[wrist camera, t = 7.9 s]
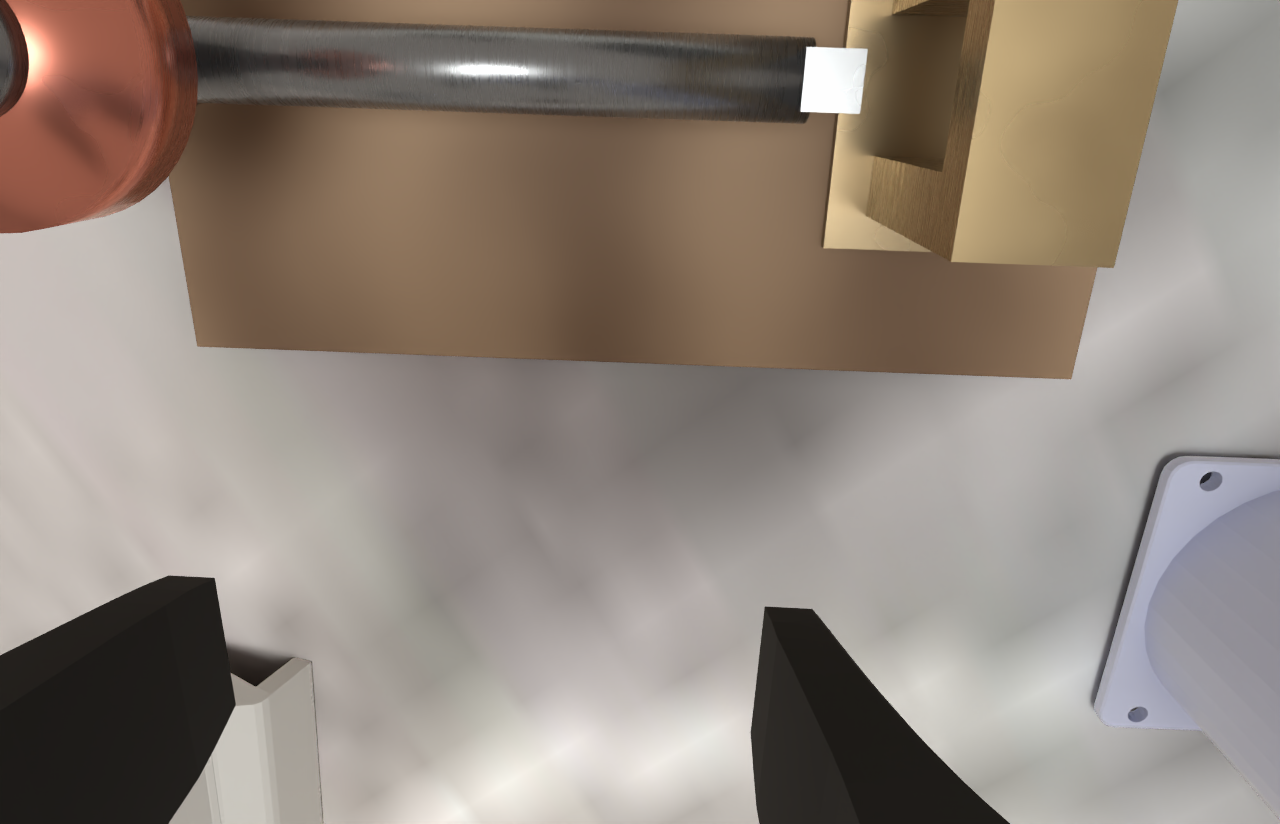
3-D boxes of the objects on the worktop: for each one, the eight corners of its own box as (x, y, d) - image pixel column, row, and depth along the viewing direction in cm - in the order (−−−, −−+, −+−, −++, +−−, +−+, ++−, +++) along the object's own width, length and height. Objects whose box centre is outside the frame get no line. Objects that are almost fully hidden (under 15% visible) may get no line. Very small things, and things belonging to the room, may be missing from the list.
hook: (855, -67, 14) (960, -159, 9) (823, 219, 16) (899, 271, 11) (4, -95, 15) (-344, -200, 10) (64, 192, 16) (-201, 231, 11)
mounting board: (1195, -253, 15) (1222, -272, 14) (1055, 368, 19) (1071, 379, 18) (115, -286, 15) (87, -307, 14) (215, 337, 19) (197, 346, 19)
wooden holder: (1072, -91, 15) (1290, -193, 10) (1006, 252, 17) (1155, 315, 12) (858, -97, 15) (963, -204, 10) (821, 246, 17) (889, 306, 12)
